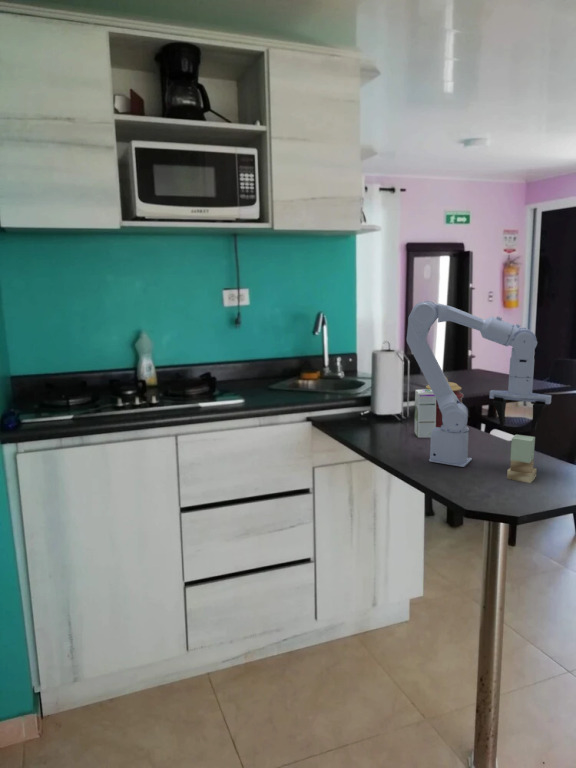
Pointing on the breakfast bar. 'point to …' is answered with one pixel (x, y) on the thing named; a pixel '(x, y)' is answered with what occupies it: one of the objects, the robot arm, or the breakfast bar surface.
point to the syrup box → (424, 413)
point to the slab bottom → (522, 475)
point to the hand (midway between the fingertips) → (517, 428)
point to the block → (522, 448)
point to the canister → (439, 422)
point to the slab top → (521, 466)
